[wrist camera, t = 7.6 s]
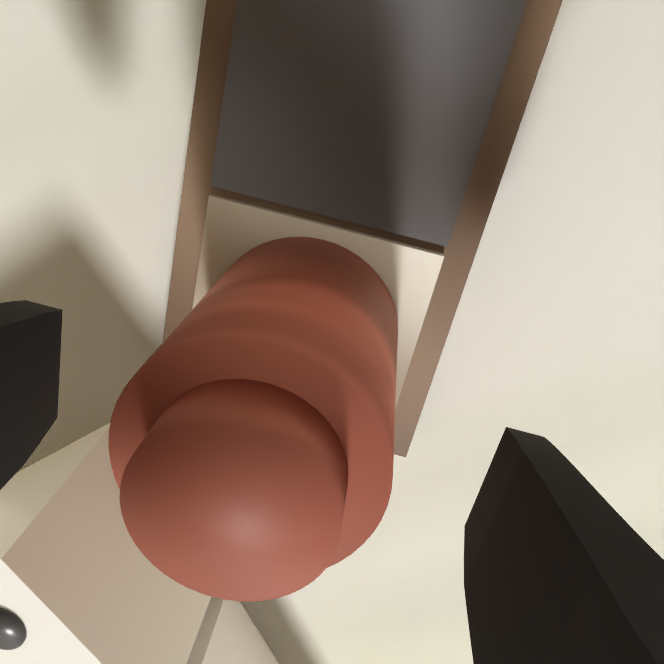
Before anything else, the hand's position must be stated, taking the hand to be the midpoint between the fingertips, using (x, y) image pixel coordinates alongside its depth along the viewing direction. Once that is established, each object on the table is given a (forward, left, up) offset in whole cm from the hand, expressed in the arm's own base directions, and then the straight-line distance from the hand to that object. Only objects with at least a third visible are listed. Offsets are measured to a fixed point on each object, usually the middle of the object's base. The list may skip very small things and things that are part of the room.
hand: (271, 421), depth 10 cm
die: (+9, +2, -5) cm, 10 cm away
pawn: (0, 0, -4) cm, 4 cm away
